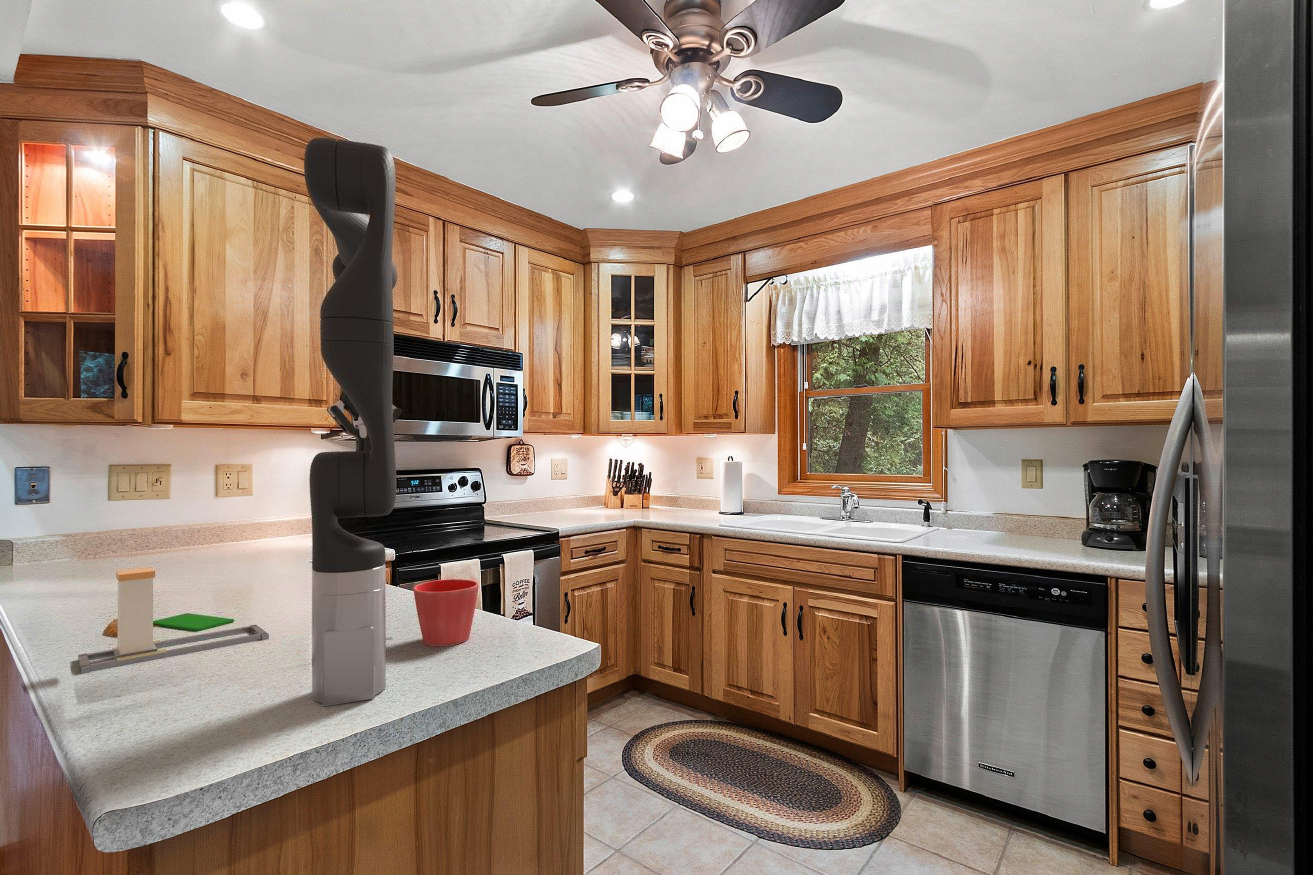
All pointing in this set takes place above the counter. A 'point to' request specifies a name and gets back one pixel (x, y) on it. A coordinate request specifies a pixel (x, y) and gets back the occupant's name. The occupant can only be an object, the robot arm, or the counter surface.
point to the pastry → (112, 629)
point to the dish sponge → (192, 622)
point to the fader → (135, 612)
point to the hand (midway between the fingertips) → (365, 458)
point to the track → (137, 658)
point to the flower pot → (446, 610)
